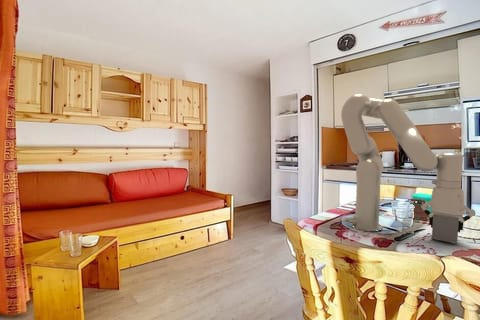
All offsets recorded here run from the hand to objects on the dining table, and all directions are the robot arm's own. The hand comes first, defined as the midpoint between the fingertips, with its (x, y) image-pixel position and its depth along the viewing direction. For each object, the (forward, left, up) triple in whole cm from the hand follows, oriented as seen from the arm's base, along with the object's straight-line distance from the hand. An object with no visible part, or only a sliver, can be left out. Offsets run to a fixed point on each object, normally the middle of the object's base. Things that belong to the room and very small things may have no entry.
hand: (445, 228), depth 103 cm
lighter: (+8, +32, -5) cm, 33 cm away
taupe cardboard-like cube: (0, 0, -4) cm, 4 cm away
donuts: (+17, +44, -5) cm, 47 cm away
